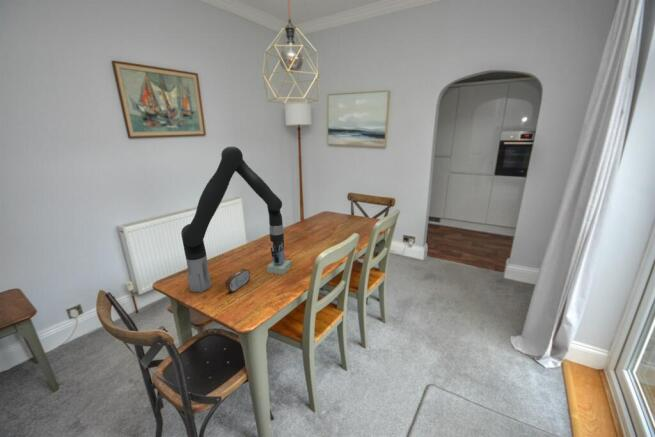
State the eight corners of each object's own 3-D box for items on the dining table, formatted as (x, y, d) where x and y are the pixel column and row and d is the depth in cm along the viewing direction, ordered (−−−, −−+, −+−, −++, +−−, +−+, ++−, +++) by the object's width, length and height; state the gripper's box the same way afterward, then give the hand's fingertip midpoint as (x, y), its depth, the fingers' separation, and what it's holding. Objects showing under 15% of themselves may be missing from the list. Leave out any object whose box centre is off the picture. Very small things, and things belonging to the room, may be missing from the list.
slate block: (281, 264, 157) (280, 252, 155) (273, 263, 158) (272, 252, 156) (284, 260, 162) (283, 249, 160) (276, 259, 163) (275, 248, 161)
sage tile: (283, 275, 155) (283, 268, 154) (267, 272, 158) (266, 266, 157) (291, 267, 165) (290, 260, 163) (275, 265, 167) (275, 258, 166)
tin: (247, 279, 151) (245, 265, 148) (251, 280, 149) (250, 266, 147) (225, 293, 138) (223, 278, 135) (230, 295, 137) (228, 279, 134)
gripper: (278, 237, 147) (280, 266, 152) (287, 228, 161) (289, 255, 166) (264, 236, 149) (267, 265, 154) (275, 227, 162) (277, 254, 167)
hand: (278, 260), depth 160 cm, fingers closed on slate block, 5 cm apart
